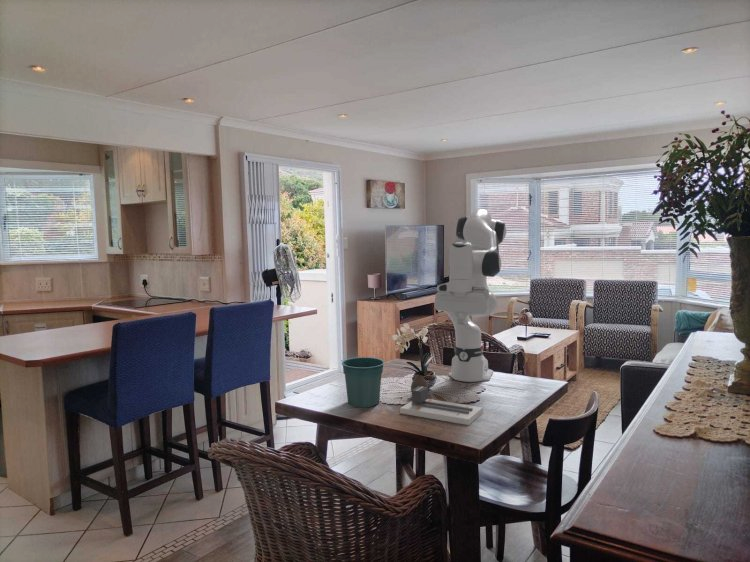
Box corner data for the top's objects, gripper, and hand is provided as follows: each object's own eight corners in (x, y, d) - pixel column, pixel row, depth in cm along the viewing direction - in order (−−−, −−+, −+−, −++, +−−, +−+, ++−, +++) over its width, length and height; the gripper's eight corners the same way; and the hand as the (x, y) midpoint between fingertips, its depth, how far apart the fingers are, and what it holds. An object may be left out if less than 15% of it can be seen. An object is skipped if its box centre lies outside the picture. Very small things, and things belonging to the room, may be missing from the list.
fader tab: (419, 400, 201) (418, 385, 200) (427, 401, 199) (427, 387, 199) (411, 404, 196) (411, 389, 195) (420, 406, 194) (420, 391, 194)
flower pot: (392, 399, 210) (391, 359, 208) (372, 412, 195) (371, 369, 194) (356, 394, 218) (355, 355, 216) (334, 406, 203) (333, 364, 202)
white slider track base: (417, 402, 206) (417, 395, 206) (482, 412, 193) (482, 405, 192) (400, 413, 194) (400, 405, 194) (468, 425, 181) (468, 417, 180)
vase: (427, 400, 208) (427, 378, 207) (409, 399, 209) (409, 377, 209) (429, 395, 215) (429, 373, 214) (412, 394, 216) (411, 373, 215)
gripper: (492, 286, 193) (492, 324, 194) (439, 284, 204) (439, 320, 205) (486, 288, 188) (486, 327, 189) (432, 286, 198) (433, 323, 199)
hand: (461, 324), depth 197 cm, fingers closed
